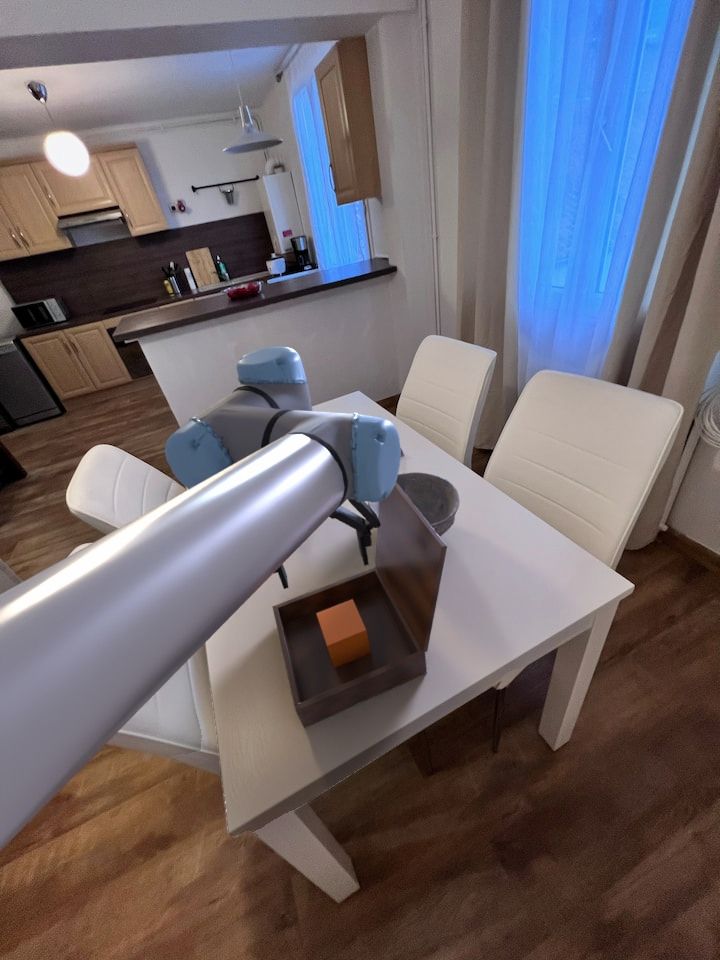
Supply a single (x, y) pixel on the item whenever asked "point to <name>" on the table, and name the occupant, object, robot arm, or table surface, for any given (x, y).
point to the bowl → (429, 498)
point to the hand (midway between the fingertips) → (325, 570)
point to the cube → (344, 633)
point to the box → (360, 679)
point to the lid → (410, 562)
